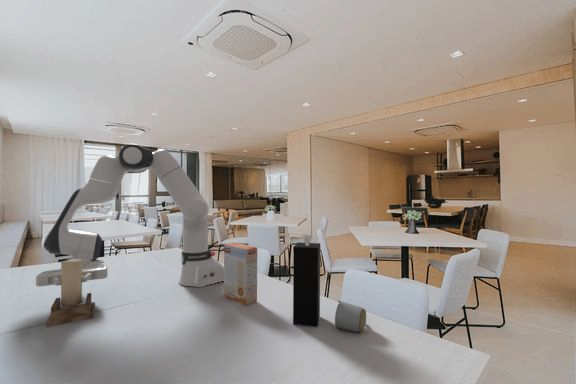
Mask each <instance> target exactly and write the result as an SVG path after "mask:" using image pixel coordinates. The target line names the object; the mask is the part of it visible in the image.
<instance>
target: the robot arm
mask: <svg viewBox="0 0 576 384" xmlns="http://www.w3.org/2000/svg"><path fill="white" fill-rule="evenodd" d="M147 170H149V171H152V173H153V174H154V176H156V177H157V179H158V180H159V182H160V183H161V184H162V186H163V187H164V188H165V191H166V192H167V193H168V194H169V196H170V197H171V199H172V200H173V202H174V203H175V205H176V206H177V208H178V210H179V211H180V213H182V251H181V257H180V261H181V273H180V278H179V281H178V283H179V285H181V286H185V287H195V288H202V287H203V288H204V287H206V285H208V286H210V285H209V284H212V285H215V284H214V283H216V284H218V283H217V282H220V283H222V282H221V281H224V264H222V263H221V262H219V261H218V260H217V259H216V258H214V257H215V255H216V252H215V251H214V250H213V251H212V250H210V249H209V230H208V229H209V227H208V225H209V224H208V223H209V222H208V219H209V218H208V214H209V204H208V202H207V201H206V200H205V198H204V196H202V194H201V193H200V190H198V189H197V187H196V186H195V184H194V183H193V181H192V180H191V178H190V177H189V175H188V174H187V173H186V171H185V170H184V168H183V167H182V166H181V165H180V162H178V160H177V159H176V158H175V157H174V156H173V155H172V154H171V153H170V152H169V151H168V150H167V149H158V150H155V151H152V150H150V149H148V148H146V147H144V146H142V145H140V144H137V143H129V144H126V145H124V146H123V147H122V148H120V150H119V153H118V156H113V155H102V156H100V157H99V158H98V160H97V162H96V163H95V165H94V167H93V169H92V171H91V173H90V175H89V176H90V177H89V178H88V181H87V183H86V184H85V185H84V186H83V187H81V188H78V189H76V190H75V191H73V193H72V195H71V196H70V198H69V200H68V201H67V202H66V204H65V206H64V207H63V209H62V212H61V213H60V214H59V217H58V218H57V220H56V222H55V223H54V225H53V227H52V228H51V229H50V231H49V232H48V233H47V234H46V236H45V238H44V241H43V247H44V249H45V251H46V252H47V253H49V254H51V255H52V254H53V255H69V256H70V257H69V258H68V259H67V260H74V259H80V260H82V283H86V282H88V281H94V280H102V279H107V278H108V265H107V264H106V263H104V260H103V259H99V256H100V253H101V250H102V246H103V238H102V236H101V235H100V234H99V233H96V232H90V231H84V230H77V229H71V228H69V225H70V223H71V222H72V219H73V217H74V216H75V214H76V212H77V211H78V209H79V208H82V207H84V206H87V205H88V206H89V205H97V204H103V203H108V202H111V201H112V200H113V199H115V198H116V197H117V195H118V192H119V190H120V187H121V184H122V180H123V178H124V176H125V175H126V174H141V173H145V172H146V171H147ZM35 285H36V287H47V286H53V285H54V286H56V287H57V286H61V268H59V269H58V268H57V269H52V270H51V269H49V270H45V271H42V272H40V273H38V275H36V277H35Z"/></svg>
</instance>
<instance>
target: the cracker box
mask: <svg viewBox="0 0 576 384" xmlns="http://www.w3.org/2000/svg"><path fill="white" fill-rule="evenodd" d="M223 248H224V250H223V257H224V258H223V260H224V261H223V267H224V282H223V297H225V296H226V297H225V298H227V297H228V299H230V298H231V299H230V300H232V299H233V300H232V301H234V300H235V302H237V301H238V302H237V303H239V302H240V304H241V303H242V305H243V304H244V306H249V305H251V304H253V303H256V301H258V247H256V246H253V245H247V244H242V243H237V242H232V243H225V244H224V245H223Z"/></svg>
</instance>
